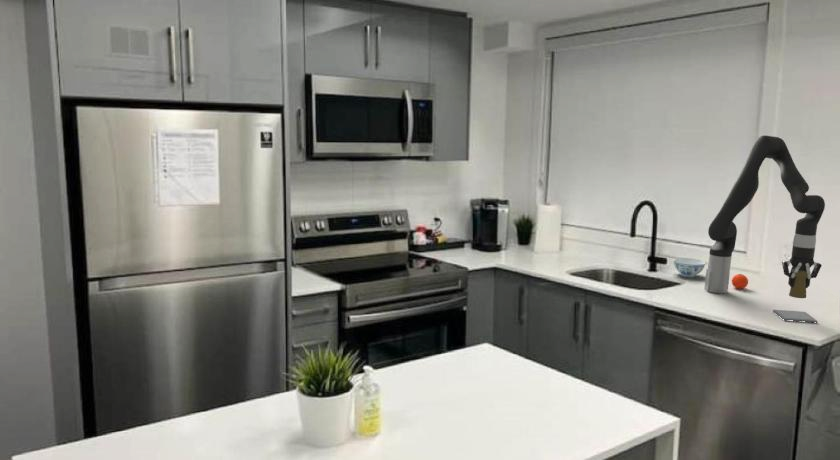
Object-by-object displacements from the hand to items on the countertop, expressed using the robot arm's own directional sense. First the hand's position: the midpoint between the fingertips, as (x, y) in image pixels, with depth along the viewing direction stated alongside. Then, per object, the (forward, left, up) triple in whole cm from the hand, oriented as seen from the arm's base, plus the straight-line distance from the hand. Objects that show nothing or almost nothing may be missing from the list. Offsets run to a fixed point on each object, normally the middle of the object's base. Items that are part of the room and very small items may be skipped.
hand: (798, 286), depth 242 cm
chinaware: (-28, +61, -13) cm, 68 cm away
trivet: (0, 0, -13) cm, 13 cm away
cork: (0, 0, -4) cm, 4 cm away
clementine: (-9, +42, -13) cm, 45 cm away
